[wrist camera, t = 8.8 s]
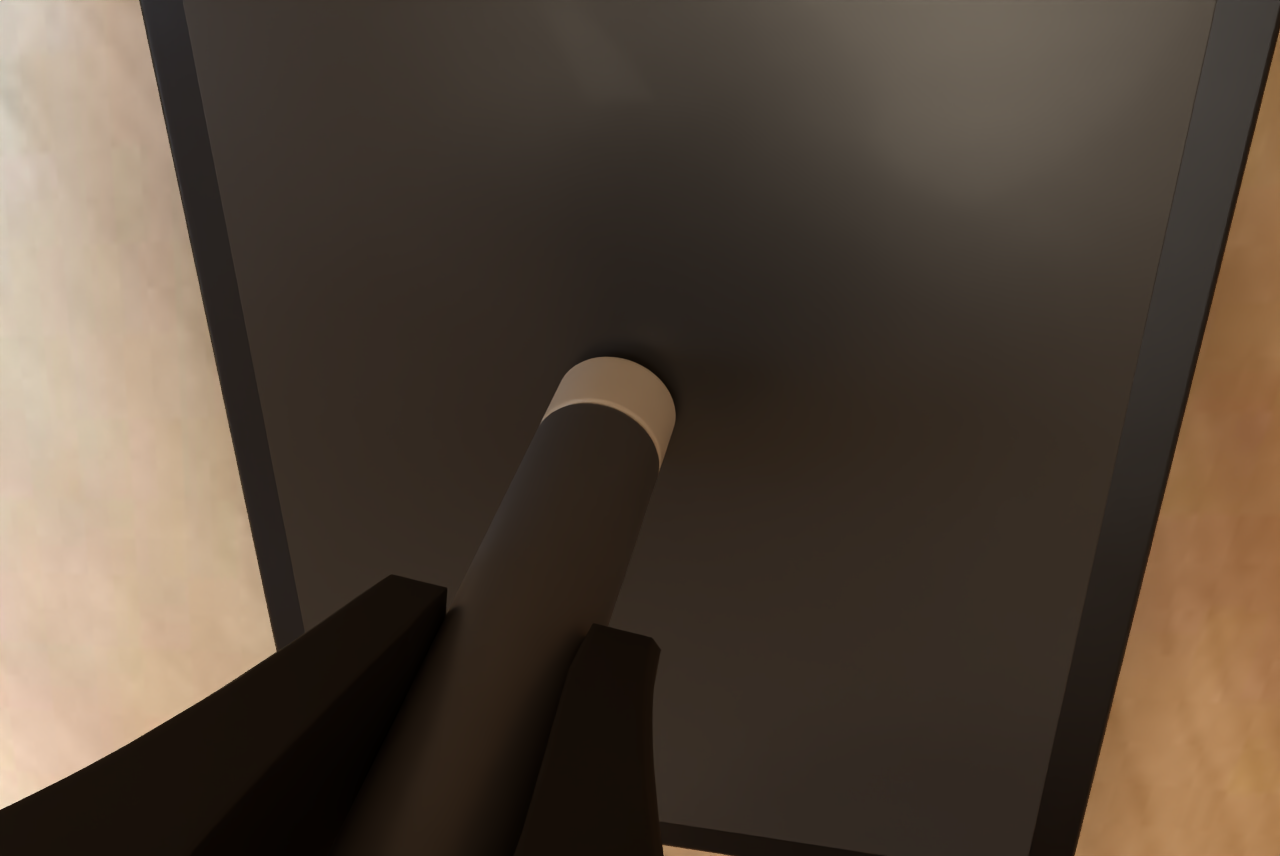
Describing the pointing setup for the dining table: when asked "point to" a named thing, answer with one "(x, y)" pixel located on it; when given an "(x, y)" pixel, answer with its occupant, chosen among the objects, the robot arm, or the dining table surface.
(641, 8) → the tablet
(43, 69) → the dining table surface
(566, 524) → the dark brown rod
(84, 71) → the dining table surface
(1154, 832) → the dining table surface
